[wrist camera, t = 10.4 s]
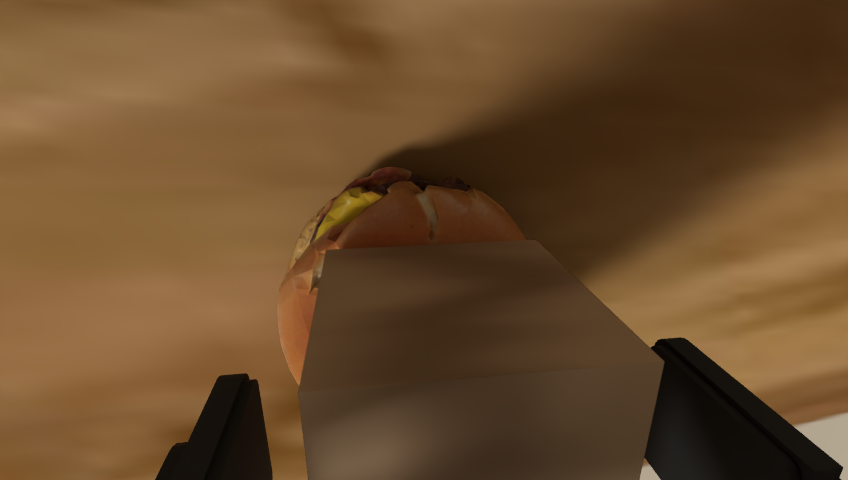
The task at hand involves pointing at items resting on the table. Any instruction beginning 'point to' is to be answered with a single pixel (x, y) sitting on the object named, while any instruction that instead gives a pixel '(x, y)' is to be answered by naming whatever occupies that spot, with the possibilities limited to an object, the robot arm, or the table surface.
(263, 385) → the table surface
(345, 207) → the burger
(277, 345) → the table surface
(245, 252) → the table surface
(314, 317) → the light brown cube
